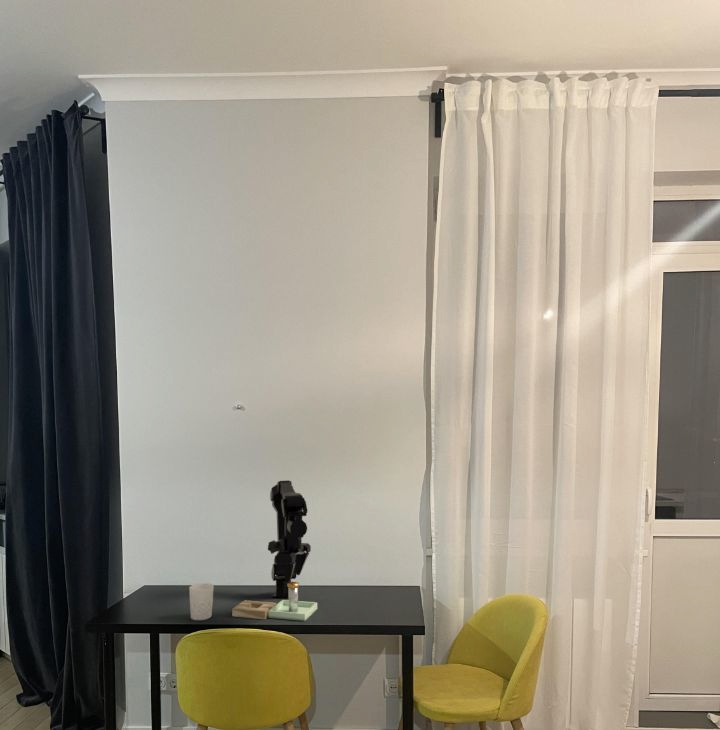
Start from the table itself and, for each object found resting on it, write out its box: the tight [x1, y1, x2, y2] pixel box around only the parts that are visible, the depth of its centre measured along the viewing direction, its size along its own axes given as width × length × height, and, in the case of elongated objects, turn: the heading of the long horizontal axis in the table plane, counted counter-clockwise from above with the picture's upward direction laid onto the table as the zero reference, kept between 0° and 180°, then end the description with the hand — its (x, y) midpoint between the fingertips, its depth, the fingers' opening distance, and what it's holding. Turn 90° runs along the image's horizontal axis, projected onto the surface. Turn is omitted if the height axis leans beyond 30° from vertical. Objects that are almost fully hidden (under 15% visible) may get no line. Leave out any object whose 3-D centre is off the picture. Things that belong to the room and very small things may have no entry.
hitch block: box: [231, 599, 277, 620], centre depth 200 cm, size 9×12×2 cm
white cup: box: [188, 582, 214, 621], centre depth 197 cm, size 8×8×10 cm
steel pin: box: [287, 581, 300, 613], centre depth 200 cm, size 4×4×9 cm
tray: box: [267, 599, 318, 622], centre depth 199 cm, size 12×13×2 cm
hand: (293, 578), depth 200 cm, fingers open, 9 cm apart
